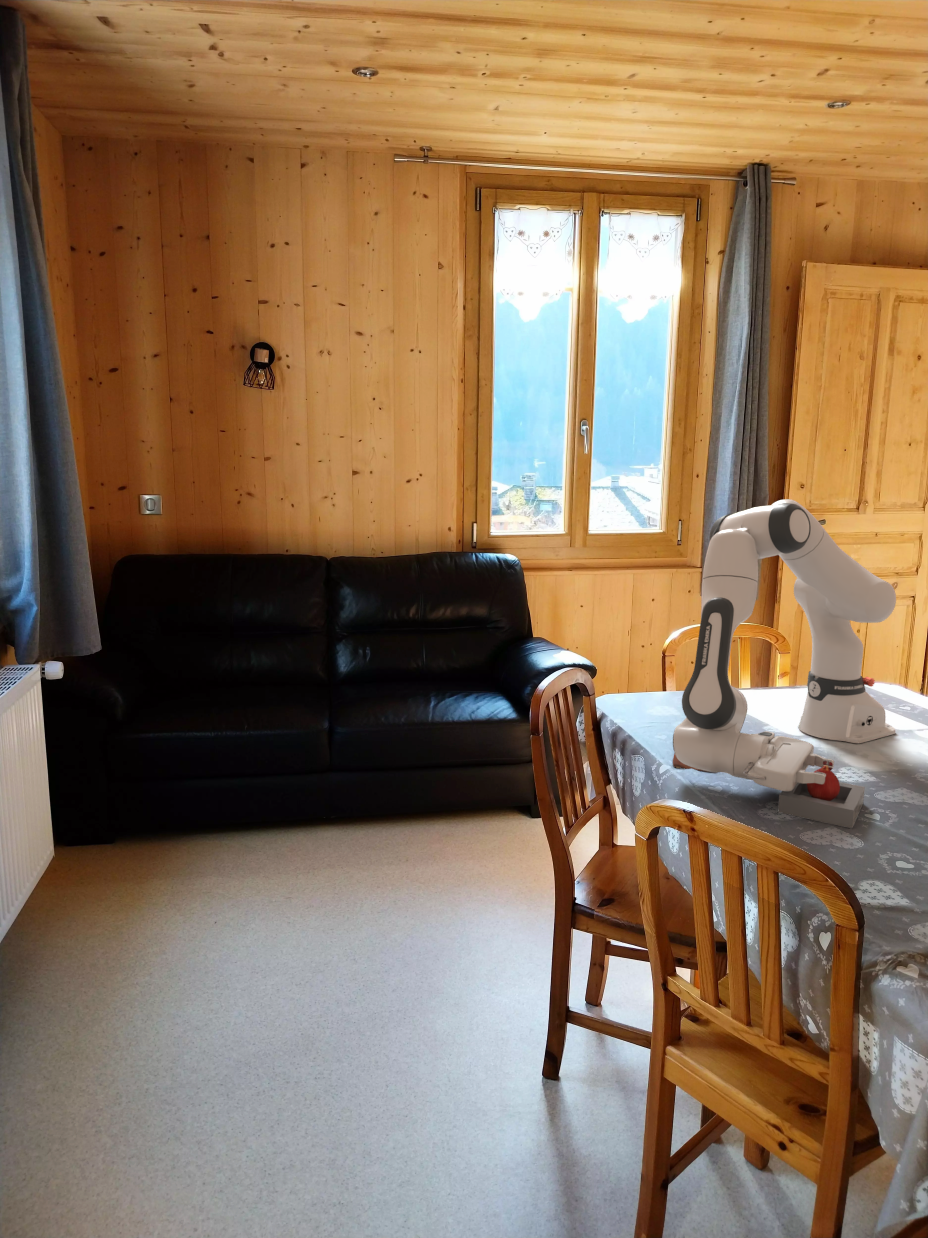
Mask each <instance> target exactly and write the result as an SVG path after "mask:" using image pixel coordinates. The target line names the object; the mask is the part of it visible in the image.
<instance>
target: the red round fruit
mask: <svg viewBox="0 0 928 1238" xmlns="http://www.w3.org/2000/svg"><path fill="white" fill-rule="evenodd" d="M816 771H817V772H821V773H825V774H826V781H825V783H824V784H818V783H807V789H808V792H809V794H810V795H811V796H812V797H813V798H816V799H821V800H826V801H831V800H832V799H834V798H836V796H837V795H838V794H839V791H840V784H839V782H840V780H839V778H838V777H837V775H836V774H835V773H834V772H833V771H832V770H831V771H830V770H829V768H828V766H827V765H824V766H823V767H822V768H821V767H819V768H818V769H816V770H814V771H813V772H815V773H816Z"/></svg>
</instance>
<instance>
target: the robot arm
mask: <svg viewBox="0 0 928 1238" xmlns="http://www.w3.org/2000/svg"><path fill="white" fill-rule="evenodd" d="M775 556H779V558H780V559H781V560H782V561H783V562H784V564H786V566H787V567H788V569H789V570H790V571H791V572H792V573H793V575H794V576H795V577H796V579H795V581H794V585H793V596H794V599H795V600H796V602H797V603H798V605H799V606H800V607H801V608H802V611H803V612H804V614H805V617H806V620H807V621H808V622H807V623H808V626H809V629H810V634H811V659H810V660H811V661H810V670H809V671H808V675H807V682H806V683H807V684H806V686H807V694H806V697H805V702H804V707H803V712H802V715H801V716H800V720H799V724H798V726H797V727H798V729H799V730H800V731H801V732H803V733H804V734H807V735H810V736H812V737H816V738H820V739H825V740H831V741H840V742H841V741H843V742H848V743H851V744H863V743H867V742H869V741H873V740H876V739H878V740H879V739H880V738H884V737H887V736H888V737H889V736H891V735H895V734H896V728H895V727H893V726H892V725H890V724H889V723H887V722H886V721H887V719H886V717H887V716H886V710H885V708H884V706H883V705H882V704H881V703H880V702H879V701H877V700H876V699H875V698H874V697H873V696H871V694H870V693H868V692H867V691H866V686H867V687H870V688H872V687H874V685H875V683H876V680H875V678H873V677H869V676H865V677H864V676H862V667H863V666H862V665H863V658H864V655H863V654H864V644H863V642H862V640H861V639H860V638H859V636H858V635H857V634H856V633H855V632H854V629H853V628H852V625H851V621H852V622H856V623H860V624H861V623H862V624H863V623H864V624H865V623H866V624H870V623H871V624H873V623H874V624H875V623H876V624H877V623H881V622H884V621H886V620H887V619H888V618H889V617H890V616H891V615H892V614H893V612H894V610H895V607H896V604H897V594H896V590H895V588H894V587H893V584H891V583H890V582H887V580H884V579H882V578H880V577H879V576H877V575H875V574H873V573H872V572H871V571H869V569H867V568H865V567H864V566H862V564H860V563H859V562H858V561H856V559H854V558H852V557H851V556H850V555H848V553H846V551H844V550H843V549H842V548H841V547H839V545H838V544H837V543H836V541H834V539H833V538H832V536H831V535H830V534H829V533H828V532H827V531H826V529H825V528H824V527H823V525H822V524H821V523H820V522H819V520H818V519H817V518H816V517H815V516H814V515H813V514H812V513H811V512H810V511H809V510H808V509H807V508H806V507H805V506H803V505H802V504H800V503H799V502H798V501H796V500H794V499H790V498H789V499H788V498H786V499H780V500H779V499H778V500H777V501H774V502H773V503H772V504H771V505H770V504H769V505H761V506H755V507H751V508H747V509H745V510H740V511H738V512H734V513H728V514H725V515H723V516H721V517H719V518H717V519H716V520H715V521H714V523H713V524H712V526H711V528H710V531H709V543H708V547H707V550H706V554H705V558H704V563H703V565H704V566H703V570H702V582H701V596H700V597H701V601H700V602H701V606H700V607H701V611H700V624H699V625H700V626H699V630H698V631H699V632H698V639H697V645H696V646H697V647H696V654H695V660H694V661H695V662H694V667H693V668H694V669H693V672H692V675H691V677H690V679H689V681H688V682H687V684H686V686H685V689H684V690H683V693H682V697H681V708H682V711H683V714H684V716H685V718H684V719H683V721H682V722H681V723H680V724H678V725H677V726H675V727H674V732H673V735H672V747H673V752H674V753H675V756H676V757H677V759H678V760H679V761H680V762H682V763H683V764H685V765H688V766H690V767H694V768H697V769H701V770H705V771H709V772H708V773H713V772H715V773H725V774H728V775H730V776H732V777H735V778H740V779H743V780H744V779H745V780H749V781H753V782H754V783H755V784H757V785H760V786H762V787H766V788H769V789H773V790H777V791H781V792H782V791H792V790H793V788H794V787H795V785H796V784H797V782H798V783H818V784H824V783H825V781H826V774H825V773H821V772H817V771H816V770H815V771H816V773H815V772H814V771H811V772H810V771H806V770H807V768H809V766H811V767H819V768H822V767H823V766H824V765H827V766H828V768H829V770H830V771H832V770H833V769H834V767H835V761H834V760H833V759H831V758H825V757H823V756H822V755H819V754H817V753H814V750H815V749H814V747H815V746H814V745H813V744H812V743H810V742H808V741H806V740H805V741H804V740H801V739H797V738H793V737H788V736H783V735H776V734H775V732H773V731H767V730H765V731H762V732H758V733H751V734H750V733H746V732H745V733H744V732H741V731H742V728H743V725H744V723H745V720H746V717H747V713H748V701H747V699H746V697H745V695H744V694H743V693H742V692H741V690H739V689H738V688H736V687H735V686H733V685H731V683H730V682H731V681H730V679H729V667H730V659H731V658H730V656H731V649H732V641H733V637H734V633H735V631H736V630H737V627H739V626H740V625H741V624H742V623H744V622H745V621H747V620H748V619H749V618H750V617H751V616H752V615H753V612H754V608H755V605H756V600H757V594H758V585H759V582H758V581H759V564H758V562H759V560H762V559H765V558H770V557H775ZM865 685H866V686H865ZM775 735H776V736H775Z"/></svg>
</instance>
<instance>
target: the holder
mask: <svg viewBox="0 0 928 1238" xmlns="http://www.w3.org/2000/svg"><path fill="white" fill-rule="evenodd" d="M839 784H840V791H839V794H838V795H837V796H836V798H834V799H832V800H831V801H826V800H821V799H816V798H813V797H812V796H811V795H810V794H809V792H808V789H807V783H798V782H797V784H796V785H795V787H794V788H793V790H792V791H781V792H780V793H779V795H778V805H777V813H779V814H784V815H789V816H793V817H797V818H802V819H808V820H811V821H815V822H821V823H825V824H830V825H834V826H839V827H843V828H847V829H853V827H854V825H855V823H856V821H857V818H858V817H859V814H860V812H861V810H862V808H863V805H864V800H865V799H864V798H865V791H866V786H863V785H857V784H852V783H846V782H841V781H839Z"/></svg>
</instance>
